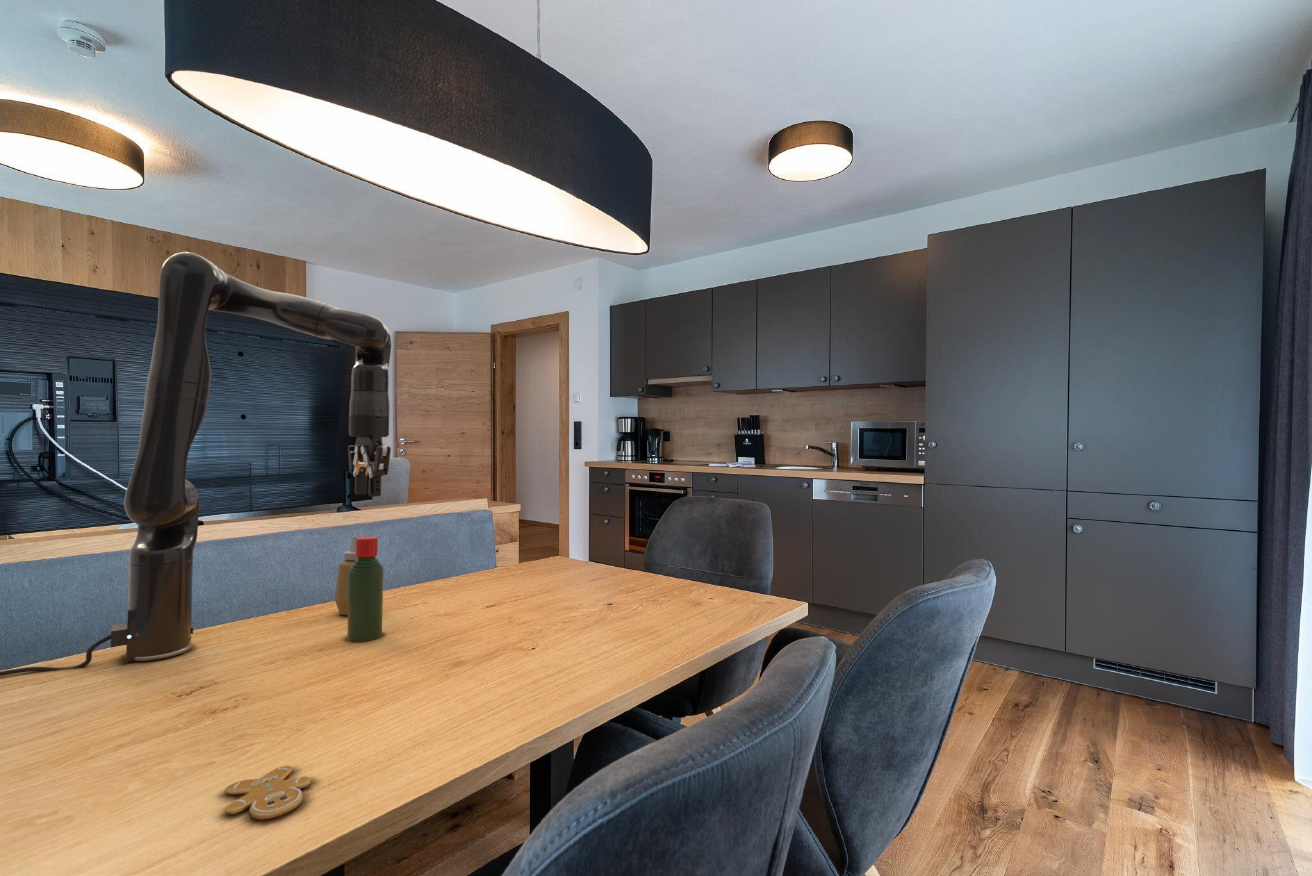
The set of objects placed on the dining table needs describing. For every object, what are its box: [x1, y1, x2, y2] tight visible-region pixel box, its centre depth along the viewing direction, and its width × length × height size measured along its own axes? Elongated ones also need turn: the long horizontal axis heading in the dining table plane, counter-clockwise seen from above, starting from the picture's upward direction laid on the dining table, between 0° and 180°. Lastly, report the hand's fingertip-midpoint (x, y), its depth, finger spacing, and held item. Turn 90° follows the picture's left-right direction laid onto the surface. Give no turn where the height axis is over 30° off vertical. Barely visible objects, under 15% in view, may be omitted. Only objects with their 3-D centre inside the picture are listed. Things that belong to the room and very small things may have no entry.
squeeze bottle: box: [334, 535, 360, 616], centre depth 137 cm, size 8×8×18 cm
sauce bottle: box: [346, 556, 384, 643], centre depth 120 cm, size 6×6×20 cm
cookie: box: [224, 765, 312, 820], centre depth 65 cm, size 8×1×10 cm
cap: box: [356, 535, 379, 557], centre depth 120 cm, size 4×4×4 cm
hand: (367, 495), depth 120 cm, fingers open, 5 cm apart
